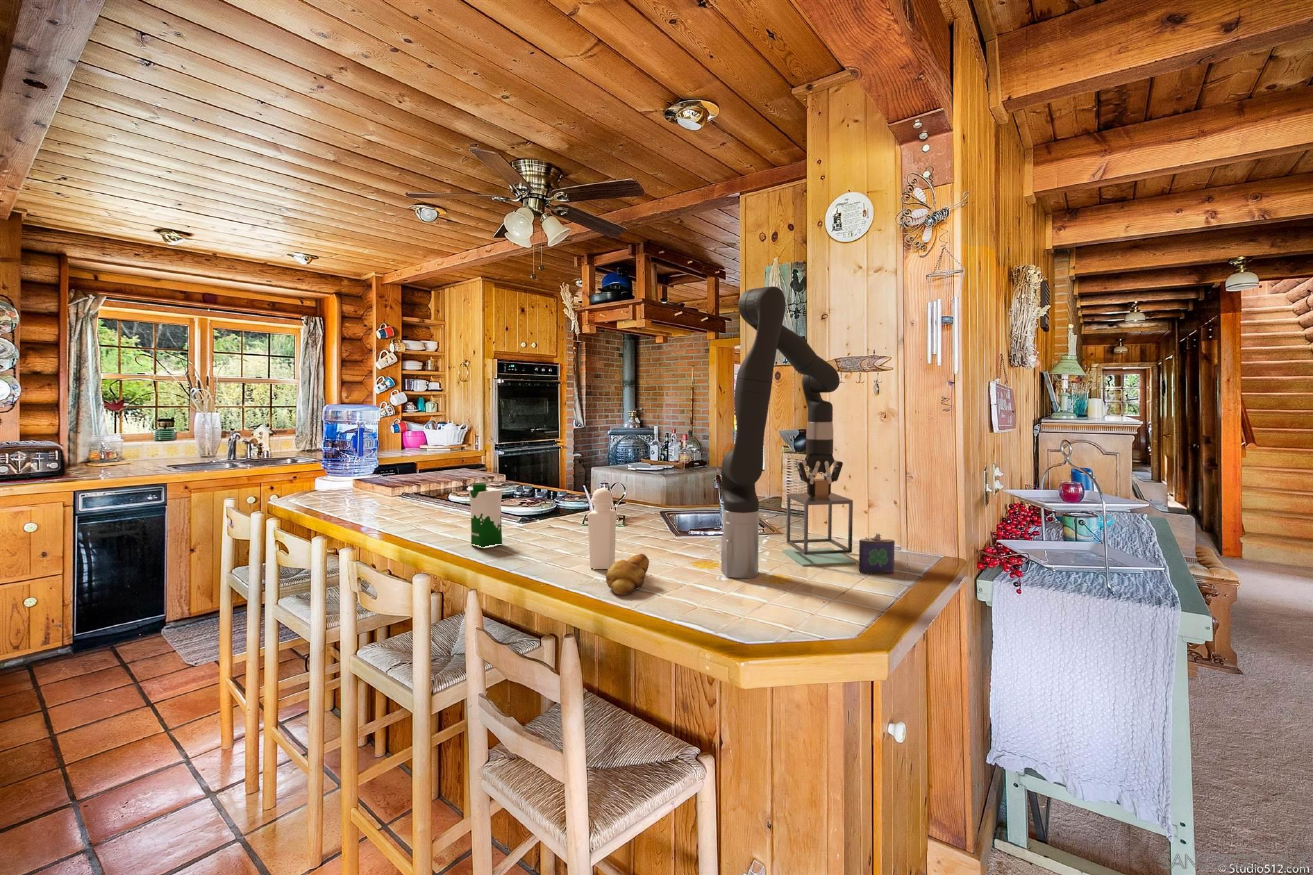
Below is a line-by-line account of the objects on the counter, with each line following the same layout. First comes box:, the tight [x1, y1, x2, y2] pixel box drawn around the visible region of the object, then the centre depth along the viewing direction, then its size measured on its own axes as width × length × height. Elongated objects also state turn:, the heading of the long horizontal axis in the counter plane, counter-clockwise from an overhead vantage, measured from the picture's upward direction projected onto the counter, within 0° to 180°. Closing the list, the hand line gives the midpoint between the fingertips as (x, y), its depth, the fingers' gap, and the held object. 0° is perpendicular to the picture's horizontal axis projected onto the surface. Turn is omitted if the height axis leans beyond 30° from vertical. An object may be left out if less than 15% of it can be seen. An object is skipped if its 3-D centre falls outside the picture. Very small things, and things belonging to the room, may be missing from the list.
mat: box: [781, 547, 858, 567], centre depth 173 cm, size 16×16×1 cm
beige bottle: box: [587, 487, 617, 569], centre depth 163 cm, size 6×6×22 cm
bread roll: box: [605, 553, 650, 595], centre depth 145 cm, size 13×10×8 cm
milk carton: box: [468, 482, 503, 547], centre depth 187 cm, size 9×9×20 cm
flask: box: [858, 533, 896, 575], centre depth 157 cm, size 9×3×11 cm, turn 88°
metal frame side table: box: [786, 478, 854, 555], centre depth 172 cm, size 14×14×20 cm
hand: (818, 496), depth 171 cm, fingers closed on metal frame side table, 4 cm apart
